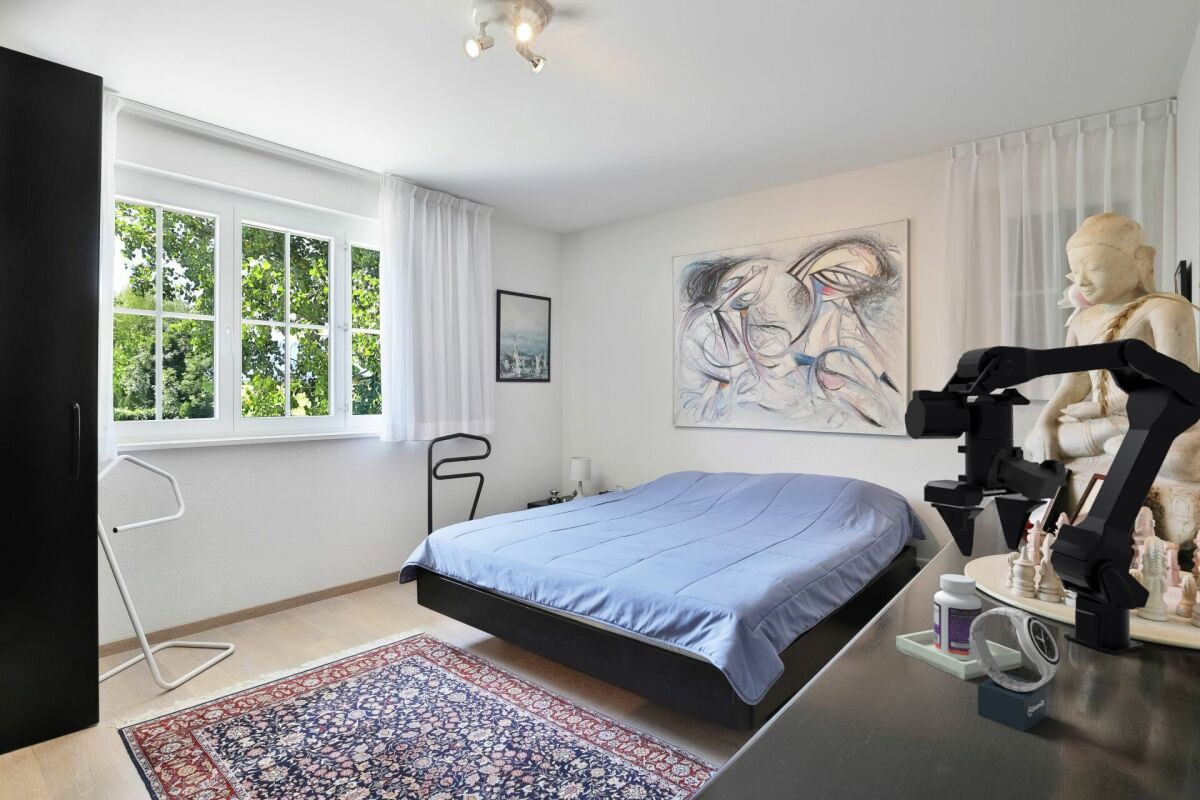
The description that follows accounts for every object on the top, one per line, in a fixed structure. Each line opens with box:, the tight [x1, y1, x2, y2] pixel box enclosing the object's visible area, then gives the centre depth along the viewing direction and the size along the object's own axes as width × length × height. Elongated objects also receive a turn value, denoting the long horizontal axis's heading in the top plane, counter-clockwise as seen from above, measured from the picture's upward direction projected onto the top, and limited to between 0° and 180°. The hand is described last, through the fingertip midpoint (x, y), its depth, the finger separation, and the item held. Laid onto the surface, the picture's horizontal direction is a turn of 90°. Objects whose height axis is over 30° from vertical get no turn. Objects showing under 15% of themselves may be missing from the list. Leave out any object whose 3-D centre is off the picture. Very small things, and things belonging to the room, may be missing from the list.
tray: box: [895, 628, 1022, 681], centre depth 82 cm, size 10×10×2 cm
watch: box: [969, 606, 1061, 732], centre depth 67 cm, size 6×8×11 cm
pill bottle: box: [933, 573, 983, 661], centre depth 82 cm, size 5×5×10 cm
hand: (990, 552), depth 87 cm, fingers open, 9 cm apart
